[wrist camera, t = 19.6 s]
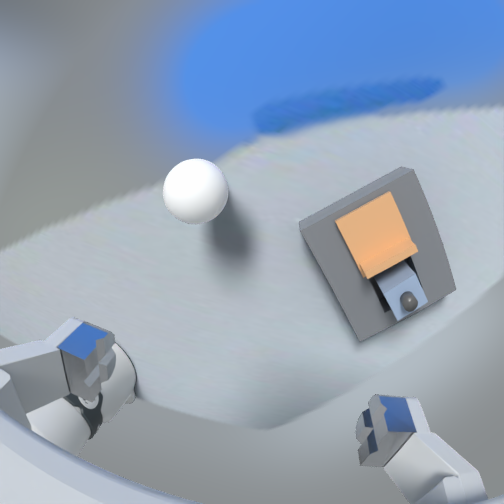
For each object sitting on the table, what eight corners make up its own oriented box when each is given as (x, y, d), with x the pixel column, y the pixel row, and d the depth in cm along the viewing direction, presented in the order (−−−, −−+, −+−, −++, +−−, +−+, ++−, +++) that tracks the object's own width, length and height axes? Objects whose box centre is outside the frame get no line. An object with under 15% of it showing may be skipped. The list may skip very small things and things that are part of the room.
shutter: (362, 275, 33) (368, 287, 30) (334, 220, 31) (339, 228, 29) (413, 247, 31) (423, 257, 28) (388, 191, 30) (398, 196, 27)
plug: (382, 292, 37) (401, 328, 29) (368, 268, 37) (387, 300, 29) (408, 276, 36) (433, 308, 28) (395, 251, 35) (420, 279, 28)
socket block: (354, 324, 40) (359, 341, 36) (299, 222, 36) (300, 231, 33) (443, 276, 36) (456, 289, 32) (401, 166, 33) (413, 169, 29)
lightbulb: (251, 188, 36) (235, 206, 25) (210, 216, 37) (179, 245, 27) (221, 145, 35) (192, 145, 24) (180, 175, 36) (139, 189, 26)
